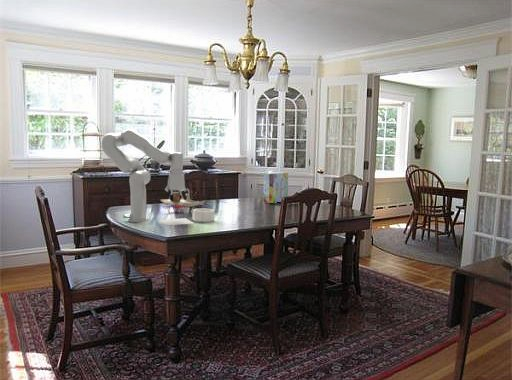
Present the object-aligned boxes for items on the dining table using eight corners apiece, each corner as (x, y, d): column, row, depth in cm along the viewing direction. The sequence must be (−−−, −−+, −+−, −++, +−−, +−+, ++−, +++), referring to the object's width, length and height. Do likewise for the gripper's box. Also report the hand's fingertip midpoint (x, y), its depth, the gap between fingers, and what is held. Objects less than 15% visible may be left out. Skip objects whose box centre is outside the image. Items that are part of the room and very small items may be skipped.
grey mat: (166, 226, 260) (166, 225, 260) (158, 220, 276) (158, 219, 276) (194, 224, 268) (194, 223, 268) (185, 218, 284) (185, 218, 284)
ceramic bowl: (196, 223, 272) (197, 212, 271) (190, 219, 283) (190, 208, 282) (216, 221, 277) (216, 211, 277) (209, 218, 289) (209, 208, 288)
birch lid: (166, 205, 261) (167, 194, 260) (160, 201, 274) (160, 191, 273) (190, 204, 268) (190, 194, 267) (183, 200, 281) (183, 190, 280)
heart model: (188, 213, 309) (168, 211, 296) (181, 215, 315) (160, 213, 302) (188, 192, 312) (168, 190, 299) (180, 194, 318) (160, 191, 305)
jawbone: (176, 205, 337) (178, 188, 336) (186, 205, 345) (187, 188, 344) (198, 210, 322) (200, 192, 321) (208, 210, 330) (210, 192, 329)
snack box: (281, 200, 378) (282, 171, 375) (287, 202, 372) (289, 172, 368) (262, 202, 364) (263, 172, 361) (269, 204, 358) (270, 173, 355)
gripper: (164, 172, 261) (163, 202, 264) (191, 172, 269) (190, 201, 271) (161, 171, 268) (160, 200, 270) (187, 171, 275) (186, 199, 278)
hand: (175, 200), depth 271 cm, fingers closed on birch lid, 4 cm apart
